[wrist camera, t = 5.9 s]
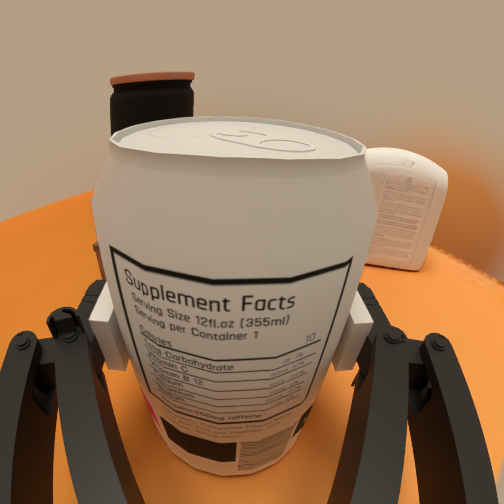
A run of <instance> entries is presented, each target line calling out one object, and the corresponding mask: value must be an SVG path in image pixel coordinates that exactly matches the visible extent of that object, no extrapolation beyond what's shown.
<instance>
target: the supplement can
mask: <svg viewBox="0 0 504 504" xmlns="http://www.w3.org/2000/svg"><path fill="white" fill-rule="evenodd" d="M365 151H366V146H364V145H363V144H361V143H360V142H358V141H357V140H355V139H353V138H351V137H348V136H345V135H342V134H340V133H337V132H334V131H331V130H327V129H323V128H319V127H315V126H311V125H306V124H300V123H294V122H288V121H282V120H274V119H263V118H253V117H232V116H207V117H206V116H205V117H184V118H175V119H166V120H159V121H153V122H148V123H143V124H139V125H134V126H131V127H128V128H125V129H123V130H120V131H118V132H115V133H114V134H113V135H112V137H111V138H110V139H109V155H108V157H107V159H106V162H105V165H104V167H103V170H102V172H101V175H100V178H99V180H98V183H97V186H96V189H95V191H94V194H93V197H92V200H91V204H92V211H93V217H94V222H95V228H96V233H97V239H98V244H99V249H100V253H101V258H102V263H103V267H104V271H105V275H106V280H107V284H108V288H109V292H110V295H111V299H112V303H113V306H114V310H115V313H116V317H117V320H118V324H119V327H120V330H121V333H122V337H123V340H124V343H125V346H126V349H127V352H128V355H129V358H130V361H131V363H132V366H133V369H134V372H135V374H136V377H137V380H138V382H139V385H140V388H141V390H142V393H143V395H144V398H145V400H146V403H147V405H148V407H149V410H150V412H151V415H152V417H153V419H154V421H155V424H156V426H157V428H158V430H159V432H160V434H161V436H162V437H163V439H164V440H165V442H166V444H167V445H168V447H169V448H170V450H171V451H172V453H174V454H175V455H176V456H178V457H179V458H181V459H182V460H183V461H185V462H186V463H187V464H189V465H190V466H192V467H193V468H196V469H199V470H202V471H206V472H209V473H213V474H217V475H220V476H229V475H244V474H252V473H254V472H257V471H259V470H261V469H264V468H266V467H268V466H270V465H273V464H275V463H276V462H278V461H279V460H280V459H281V458H282V457H283V456H284V455H285V454H286V453H287V452H288V451H289V450H290V449H291V448H292V446H293V445H294V444H295V442H296V440H297V438H298V435H299V433H300V431H301V429H302V427H303V425H304V423H305V421H306V419H307V417H308V414H309V412H310V410H311V408H312V406H313V403H314V401H315V399H316V397H317V394H318V392H319V390H320V387H321V385H322V383H323V380H324V378H325V375H326V373H327V371H328V368H329V366H330V363H331V361H332V358H333V355H334V353H335V350H336V348H337V345H338V342H339V340H340V337H341V334H342V332H343V329H344V326H345V323H346V320H347V318H348V315H349V312H350V309H351V306H352V303H353V300H354V297H355V294H356V291H357V288H358V285H359V281H360V278H361V275H362V272H363V268H364V265H365V261H366V258H367V255H368V251H369V248H370V244H371V240H372V237H373V233H374V229H375V225H376V220H377V200H376V196H375V192H374V189H373V185H372V182H371V178H370V175H369V171H368V168H367V165H366V162H365V158H364V157H365Z"/></svg>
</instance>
